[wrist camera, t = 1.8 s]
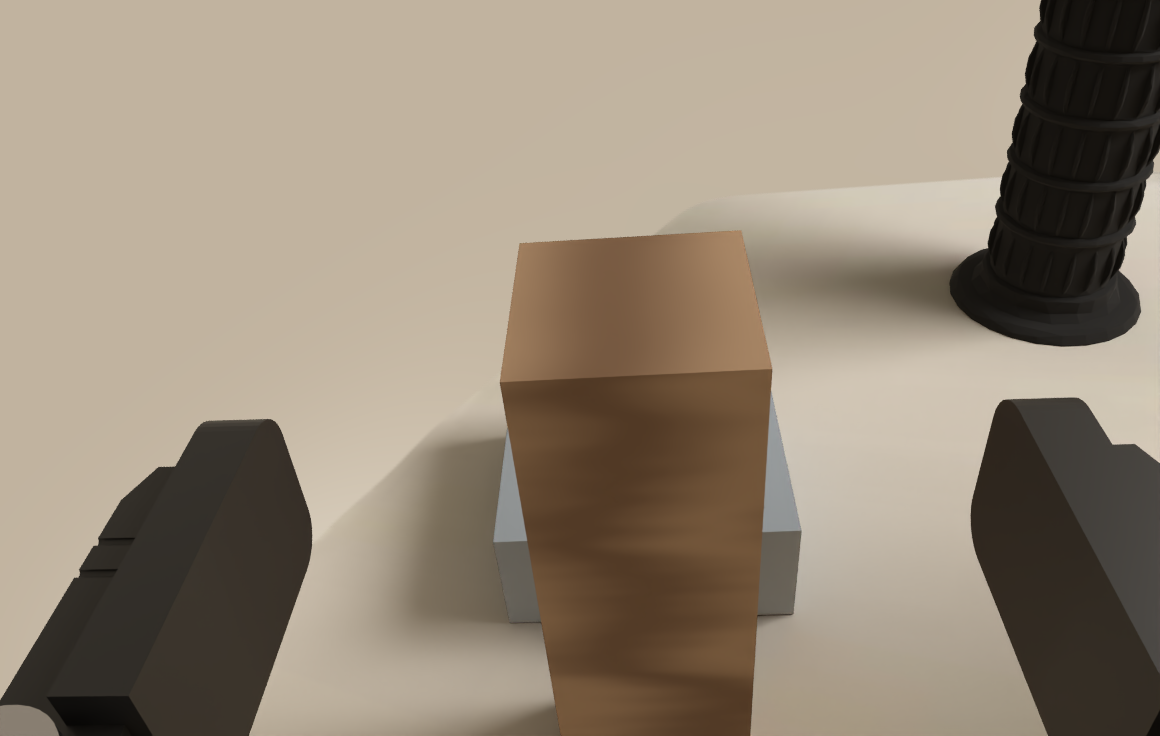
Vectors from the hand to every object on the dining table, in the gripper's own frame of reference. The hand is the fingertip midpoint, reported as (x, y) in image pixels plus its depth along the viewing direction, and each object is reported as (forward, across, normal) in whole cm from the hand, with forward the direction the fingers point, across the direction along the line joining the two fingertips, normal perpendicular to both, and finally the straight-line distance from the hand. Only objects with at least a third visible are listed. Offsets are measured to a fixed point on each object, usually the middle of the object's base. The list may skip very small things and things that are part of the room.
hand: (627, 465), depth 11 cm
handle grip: (+38, -23, +23) cm, 51 cm away
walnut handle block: (+10, 0, +24) cm, 26 cm away
